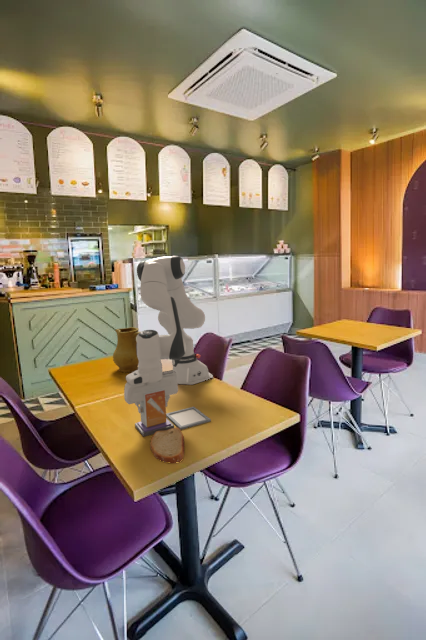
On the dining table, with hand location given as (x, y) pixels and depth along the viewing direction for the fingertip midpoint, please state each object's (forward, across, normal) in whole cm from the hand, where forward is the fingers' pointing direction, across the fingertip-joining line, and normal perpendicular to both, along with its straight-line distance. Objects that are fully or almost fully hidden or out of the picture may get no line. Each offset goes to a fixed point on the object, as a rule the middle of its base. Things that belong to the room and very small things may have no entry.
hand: (153, 409), depth 134 cm
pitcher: (+8, -14, -81) cm, 82 cm away
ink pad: (+7, 0, 0) cm, 7 cm away
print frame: (+7, -14, 0) cm, 16 cm away
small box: (+6, 0, 0) cm, 6 cm away
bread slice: (+8, 0, +17) cm, 18 cm away
